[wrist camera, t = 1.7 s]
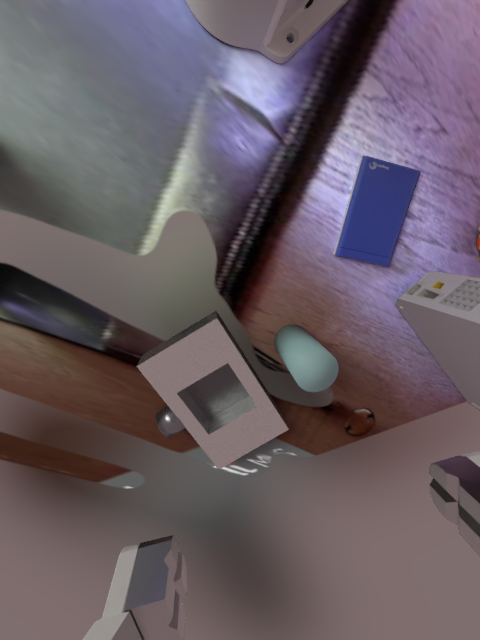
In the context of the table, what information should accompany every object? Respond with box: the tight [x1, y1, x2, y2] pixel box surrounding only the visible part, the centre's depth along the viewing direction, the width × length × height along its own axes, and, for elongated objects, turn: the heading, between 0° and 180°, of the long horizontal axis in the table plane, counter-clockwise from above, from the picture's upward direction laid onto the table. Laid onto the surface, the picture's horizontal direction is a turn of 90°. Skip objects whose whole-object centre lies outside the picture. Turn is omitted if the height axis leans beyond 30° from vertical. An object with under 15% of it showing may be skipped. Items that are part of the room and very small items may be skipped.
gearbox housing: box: [137, 311, 289, 469], centre depth 40 cm, size 15×20×4 cm
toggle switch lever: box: [275, 325, 339, 395], centre depth 37 cm, size 5×7×10 cm
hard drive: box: [334, 156, 421, 267], centre depth 38 cm, size 2×8×12 cm
